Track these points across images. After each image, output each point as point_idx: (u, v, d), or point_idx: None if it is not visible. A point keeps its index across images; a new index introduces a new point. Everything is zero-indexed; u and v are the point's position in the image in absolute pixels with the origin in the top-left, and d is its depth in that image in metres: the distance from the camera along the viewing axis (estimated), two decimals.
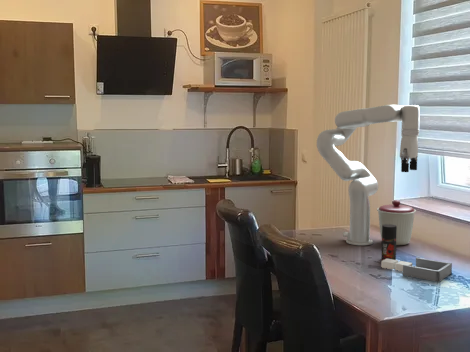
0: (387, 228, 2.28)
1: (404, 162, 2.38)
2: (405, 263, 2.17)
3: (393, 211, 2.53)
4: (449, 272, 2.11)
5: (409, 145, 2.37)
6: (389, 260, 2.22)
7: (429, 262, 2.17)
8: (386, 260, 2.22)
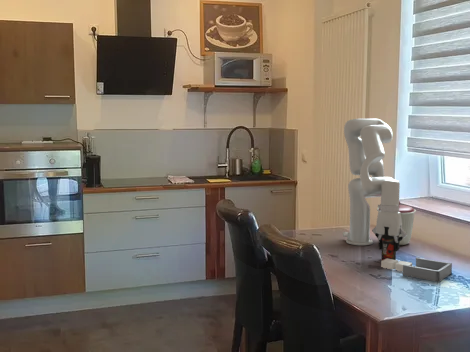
0: (387, 228, 2.28)
1: (399, 241, 2.29)
2: (405, 263, 2.17)
3: None
4: (449, 272, 2.11)
5: (401, 221, 2.29)
6: (390, 260, 2.22)
7: (429, 262, 2.17)
8: (386, 260, 2.22)
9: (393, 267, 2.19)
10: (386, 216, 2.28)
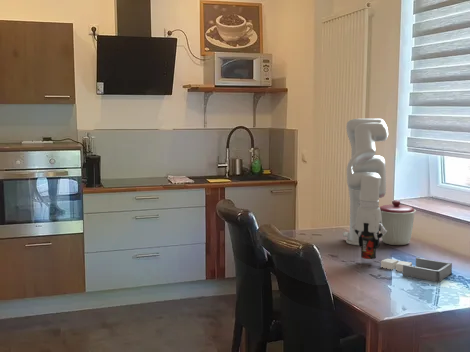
0: (366, 224, 2.23)
1: None
2: (405, 263, 2.17)
3: (393, 211, 2.53)
4: (449, 272, 2.11)
5: (381, 217, 2.24)
6: (390, 260, 2.22)
7: (429, 262, 2.17)
8: (386, 260, 2.22)
9: (393, 267, 2.19)
10: (366, 212, 2.23)
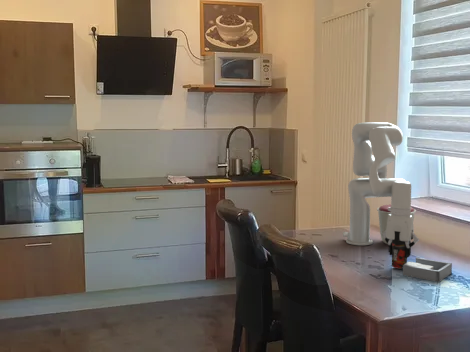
0: (398, 233, 2.15)
1: None
2: (426, 266, 2.12)
3: None
4: (449, 272, 2.11)
5: (412, 225, 2.15)
6: (412, 263, 2.16)
7: (429, 262, 2.17)
8: (409, 263, 2.16)
9: None
10: (397, 220, 2.15)
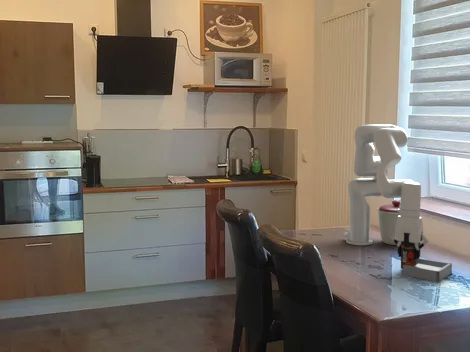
0: (407, 234, 2.12)
1: None
2: (436, 268, 2.10)
3: (393, 211, 2.53)
4: (449, 272, 2.11)
5: (422, 227, 2.13)
6: (422, 265, 2.14)
7: (429, 262, 2.17)
8: (418, 265, 2.14)
9: None
10: (407, 222, 2.12)
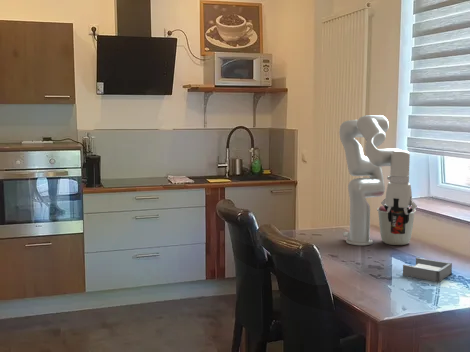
0: (397, 200, 2.24)
1: (409, 213, 2.25)
2: (436, 268, 2.10)
3: None
4: (449, 272, 2.11)
5: (411, 193, 2.25)
6: (422, 265, 2.14)
7: (429, 262, 2.17)
8: (418, 265, 2.14)
9: None
10: (396, 188, 2.24)
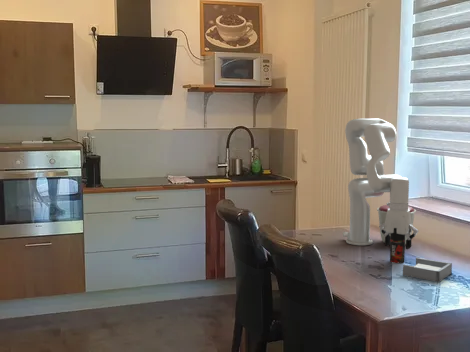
0: (396, 229, 2.26)
1: (411, 238, 2.25)
2: (436, 268, 2.10)
3: None
4: (449, 272, 2.11)
5: (410, 219, 2.26)
6: (422, 265, 2.14)
7: (429, 262, 2.17)
8: (418, 265, 2.14)
9: None
10: (395, 214, 2.25)
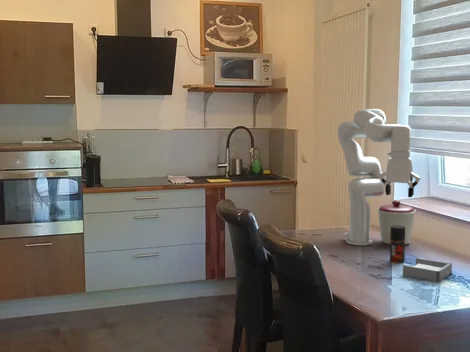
0: (396, 229, 2.26)
1: (414, 186, 2.22)
2: (436, 268, 2.10)
3: (393, 211, 2.53)
4: (449, 272, 2.11)
5: (411, 168, 2.23)
6: (422, 265, 2.14)
7: (429, 262, 2.17)
8: (418, 265, 2.14)
9: None
10: (397, 163, 2.23)
